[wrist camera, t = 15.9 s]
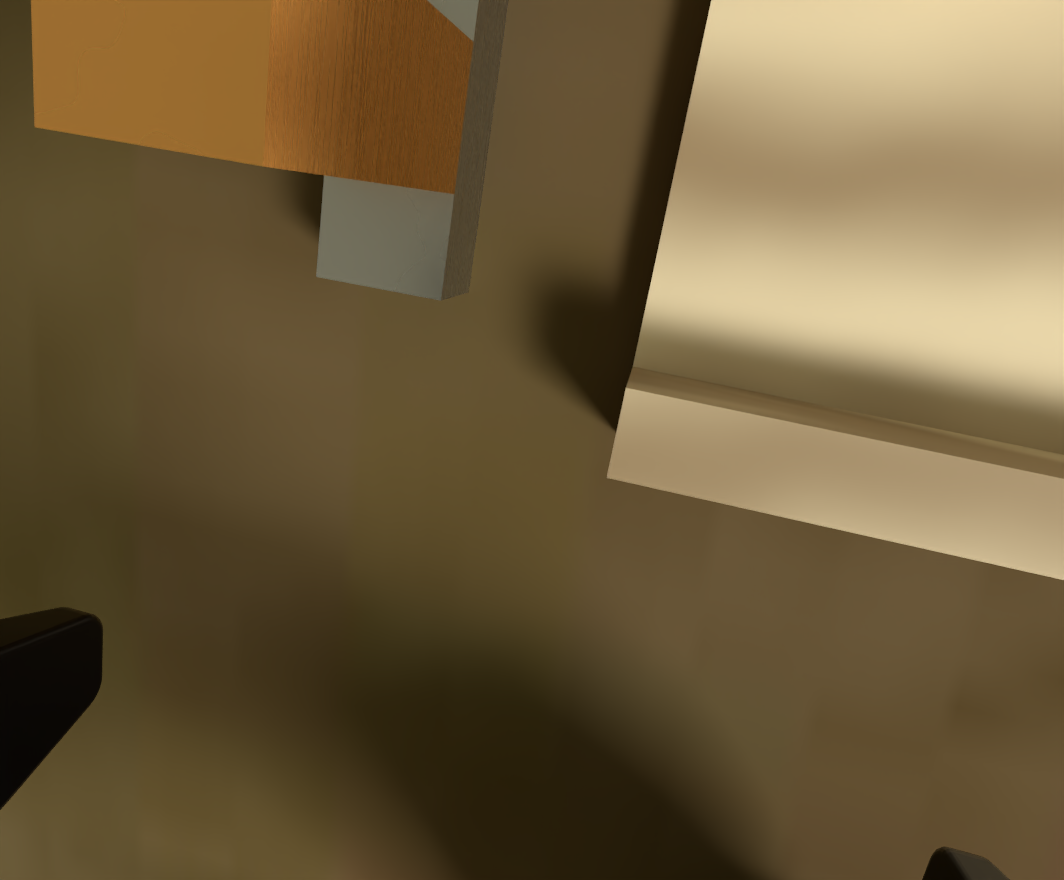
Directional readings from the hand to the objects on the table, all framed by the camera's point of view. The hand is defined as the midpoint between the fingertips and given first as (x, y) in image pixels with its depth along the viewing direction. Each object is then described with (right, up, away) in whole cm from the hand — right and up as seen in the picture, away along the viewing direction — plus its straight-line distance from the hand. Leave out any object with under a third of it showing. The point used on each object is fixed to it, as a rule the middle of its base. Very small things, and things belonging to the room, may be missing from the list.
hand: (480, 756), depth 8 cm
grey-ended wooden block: (-2, +11, +10) cm, 15 cm away
